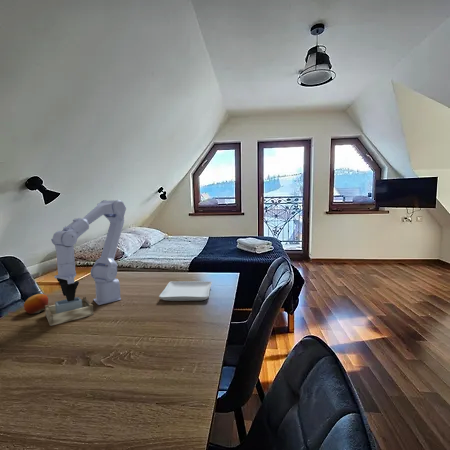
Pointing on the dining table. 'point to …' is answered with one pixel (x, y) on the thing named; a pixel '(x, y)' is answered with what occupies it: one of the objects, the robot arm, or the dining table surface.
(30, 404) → the dining table surface
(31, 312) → the fruit
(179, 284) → the salad plate
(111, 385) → the dining table surface
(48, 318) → the pine crate
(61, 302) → the small crate
